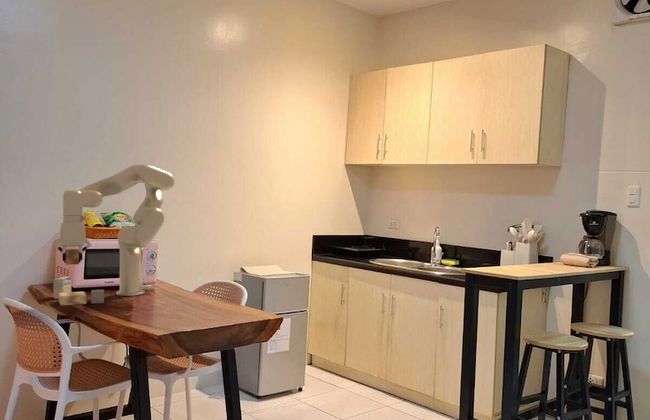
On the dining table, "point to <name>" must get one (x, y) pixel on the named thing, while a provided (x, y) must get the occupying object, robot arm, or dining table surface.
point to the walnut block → (72, 256)
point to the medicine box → (62, 286)
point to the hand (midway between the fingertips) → (72, 261)
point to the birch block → (72, 298)
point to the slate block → (97, 296)
